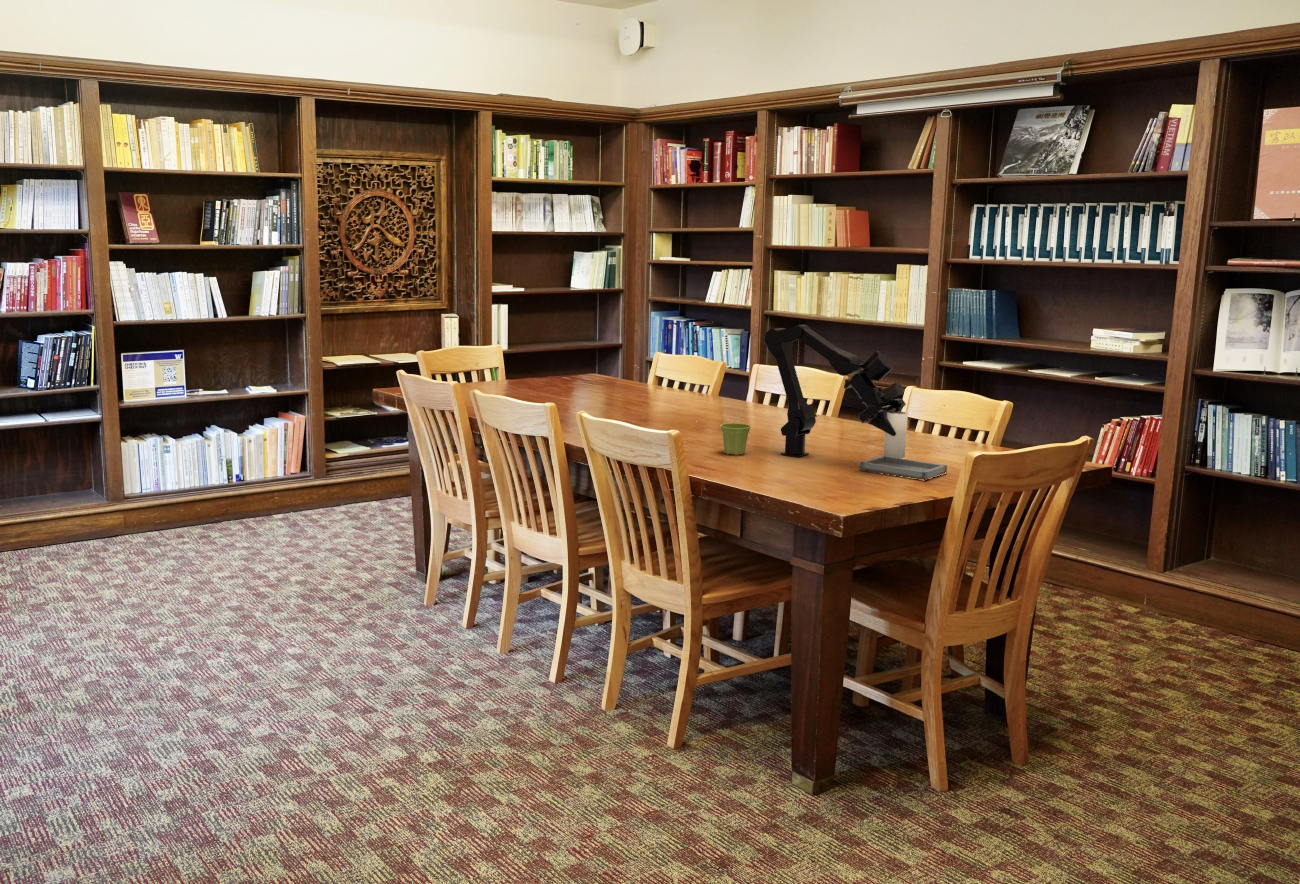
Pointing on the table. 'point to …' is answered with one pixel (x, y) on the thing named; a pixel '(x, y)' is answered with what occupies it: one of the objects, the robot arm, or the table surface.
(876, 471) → the tray
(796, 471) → the table surface
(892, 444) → the pencil cup
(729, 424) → the plant pot
